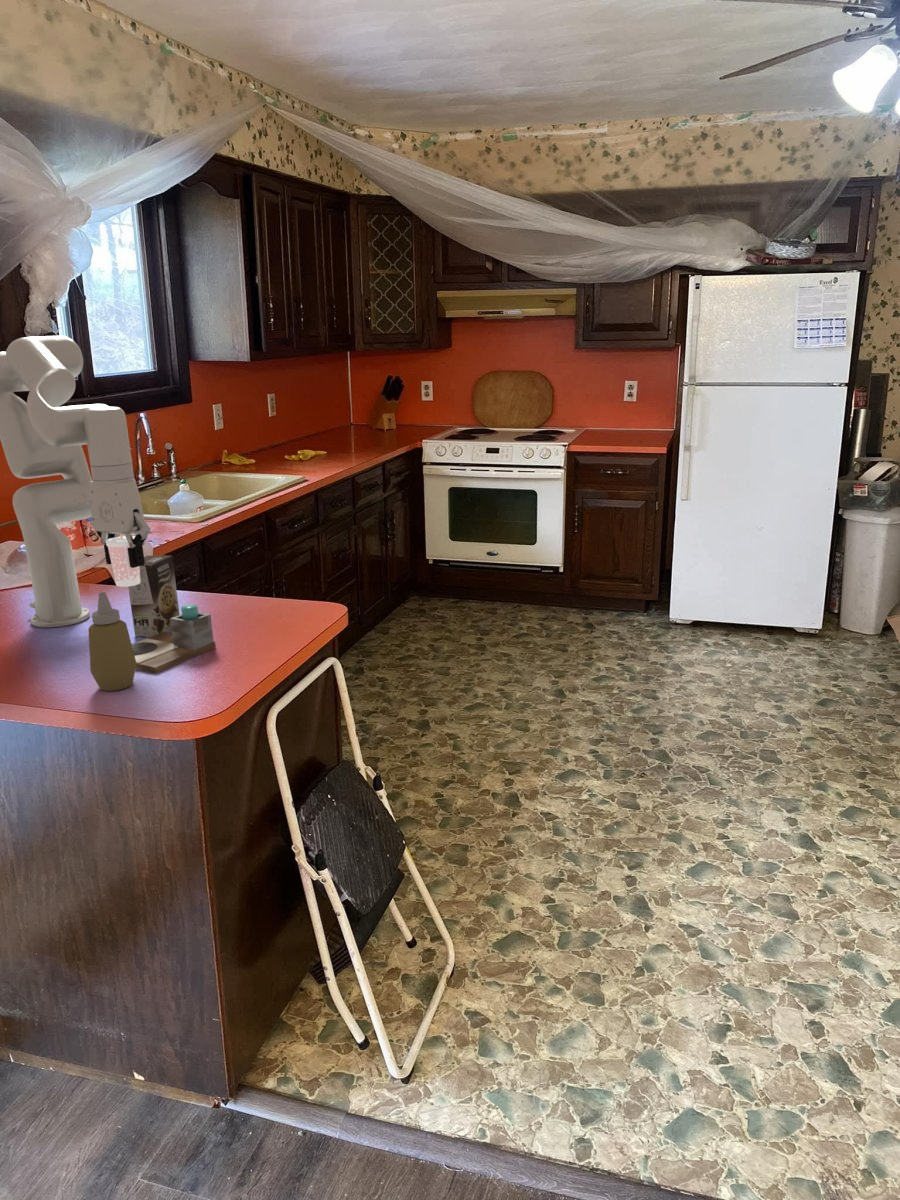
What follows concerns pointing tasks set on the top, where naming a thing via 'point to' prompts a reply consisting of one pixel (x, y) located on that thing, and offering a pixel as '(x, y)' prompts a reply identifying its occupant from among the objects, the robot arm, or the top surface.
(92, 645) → the squeeze bottle
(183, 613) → the button
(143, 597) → the coffee box
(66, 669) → the top surface
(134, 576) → the beverage cup
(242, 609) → the top surface
